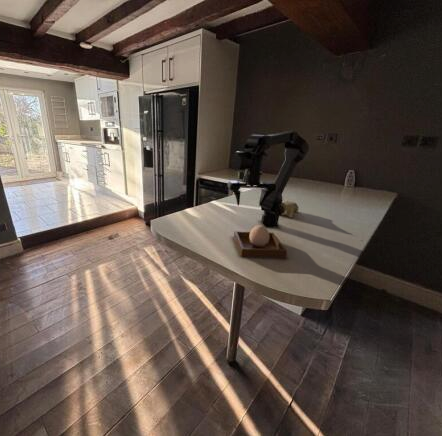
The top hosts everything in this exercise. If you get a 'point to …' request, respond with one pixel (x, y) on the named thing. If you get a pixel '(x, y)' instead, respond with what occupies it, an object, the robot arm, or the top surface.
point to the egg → (259, 236)
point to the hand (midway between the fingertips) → (248, 205)
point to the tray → (249, 250)
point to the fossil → (289, 208)
